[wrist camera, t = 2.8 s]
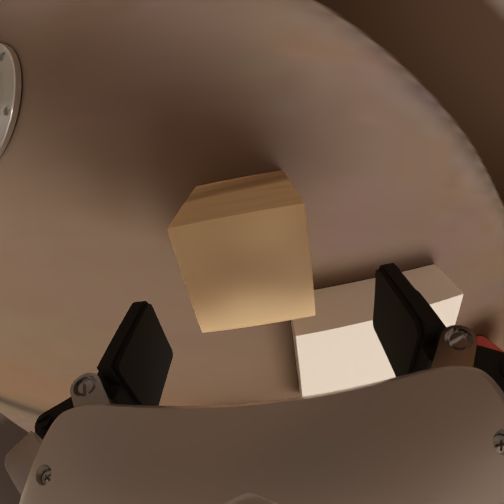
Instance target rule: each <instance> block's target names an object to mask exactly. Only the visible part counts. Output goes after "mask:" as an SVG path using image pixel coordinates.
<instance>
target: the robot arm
mask: <svg viewBox="0 0 504 504" xmlns="http://www.w3.org/2000/svg"><path fill="white" fill-rule="evenodd" d="M21 87H22V86H21V69H20V63H19V60H18V57H17V54H16V53H15V52H14V50H13V49H12V48H11V47H10V46H9V45H7V44H3V43H0V156H1V155H2V153H3V152H4V150H5V148H6V146H7V144H8V142H9V140H10V138H11V135H12V132H13V129H14V127H15V123H16V119H17V115H18V111H19V105H20V98H21ZM373 327H374V330H375V332H376V334H377V336H378V339H379V341H380V343H381V345H382V347H383V349H384V351H385V354H386V356H387V358H388V360H389V362H390V364H391V367H392V369H393V371H394V373H395V376H396V377H394V378H391V379H387V380H383V381H379V382H374V383H370V384H366V385H361V386H357V387H352V388H348V389H343V390H338V391H333V392H327V393H322V394H316V395H310V396H303V397H296V398H289V399H282V400H274V401H264V402H254V403H243V404H228V405H207V406H158V405H159V402H160V398H161V395H162V391H163V388H164V384H165V381H166V377H167V374H168V371H169V367H170V364H171V361H172V357H173V352H172V349H171V347H170V345H169V343H168V340H167V338H166V336H165V334H164V332H163V329H162V327H161V325H160V323H159V321H158V318H157V316H156V314H155V311H154V309H153V307H152V305H151V304H148V303H147V302H146V301H142V302H134V303H133V304H132V305H131V307H130V309H129V310H128V312H127V314H126V316H125V317H124V319H123V321H122V323H121V324H120V326H119V328H118V330H117V331H116V333H115V335H114V337H113V339H112V340H111V342H110V344H109V346H108V348H107V350H106V352H105V353H104V355H103V357H102V359H101V361H100V363H99V365H98V367H97V369H98V370H99V372H98V374H95V373H86V374H83V375H81V376H79V377H78V378H77V379H76V380H75V381H74V382H73V384H72V385H71V388H70V394H71V397H70V398H68V399H67V400H65V401H63V402H62V403H60V404H58V405H57V406H55V407H53V408H51V409H50V410H48V411H46V412H44V413H43V414H42V415H40V416H39V418H38V419H37V421H36V423H35V433H34V432H32V431H31V432H30V433H29V434H28V435H27V436H26V437H25V438H23V439H22V440H21V441H20V442H19V443H18V444H17V445H16V446H15V447H14V448H13V449H12V450H11V451H10V452H9V453H8V454H7V456H6V459H5V466H6V469H7V471H8V473H9V475H10V477H11V479H12V480H13V482H14V484H15V486H16V488H17V489H18V491H19V492H20V494H21V500H20V503H19V504H504V352H501V351H497V350H494V349H490V348H487V347H483V346H480V345H477V338H476V335H475V334H474V332H473V331H472V330H470V329H469V328H467V327H465V326H462V325H451V326H449V327H446V326H445V325H444V323H443V322H442V321H441V319H440V318H439V317H438V315H437V314H436V313H435V311H434V310H433V309H432V307H431V306H430V305H429V304H428V302H427V301H426V300H425V298H424V297H423V296H422V295H421V293H420V292H419V291H418V290H416V289H415V288H414V287H413V286H412V284H411V283H410V282H409V281H408V279H407V278H406V277H405V276H404V274H403V273H402V272H401V271H400V270H399V268H398V267H397V266H396V265H395V264H394V263H390V264H385V265H381V266H380V267H379V269H377V270H376V274H375V296H374V311H373Z"/></svg>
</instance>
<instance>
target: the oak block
mask: <svg viewBox="0 0 504 504" xmlns="http://www.w3.org/2000/svg"><path fill="white" fill-rule="evenodd" d="M167 231H168V235H169V238H170V241H171V244H172V248H173V251H174V254H175V257H176V260H177V263H178V266H179V269H180V272H181V275H182V278H183V281H184V284H185V287H186V289H187V292H188V295H189V298H190V301H191V304H192V306H193V309H194V312H195V315H196V317H197V320H198V323H199V325H200V328H201V330H202V333H204V332H213V331H221V330H228V329H236V328H243V327H250V326H256V325H263V324H269V323H275V322H281V321H287V320H293V319H299V318H304V317H310V316H315V301H314V288H313V276H312V265H311V255H310V245H309V236H308V227H307V218H306V210H305V203H304V201H303V200H302V198H301V197H300V195H299V194H298V192H297V191H296V189H295V188H294V186H293V185H292V184H291V182H290V181H289V179H288V178H287V176H286V175H285V173H284V172H283V171H282V170H280V171H274V172H268V173H262V174H256V175H250V176H245V177H240V178H234V179H229V180H224V181H219V182H214V183H209V184H205V185H200V186H196V187H195V188H194V190H193V191H192V192H191V194H190V195H189V197H188V198H187V200H186V201H185V202H184V204H183V205H182V207H181V208H180V210H179V211H178V213H177V214H176V215H175V217H174V218H173V220H172V221H171V223H170V224H169V226H168V227H167Z"/></svg>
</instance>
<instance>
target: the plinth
mask: <svg viewBox="0 0 504 504" xmlns="http://www.w3.org/2000/svg"><path fill="white" fill-rule="evenodd" d="M402 273H403V274H404V276H405V277H406V278H407V279H408V281H409V282H410V283H411V284H412V286H413V287H414V288H415V289H416V290H418V291H419V292H420V293H421V295H422V296H423V297H424V298H425V300H426V301H427V302H428V304H429V305H430V306H431V307H432V309H433V310H434V311H435V313H436V314H437V315H438V317H439V318H440V319H441V321H442V322H443V323H444V325H445V326H446V327H449V326H451V325H455V323H456V319H457V316H458V312H459V309H460V305H461V301H462V298H463V293H462V292H461V291H460V290H459V289H458V288H457V286H456V285H455V284H454V283H453V282H452V281H451V280H450V279H449V278H448V277H447V276H446V275H445V274H444V273H443V272H442V271H441V270H440V269H439V268H438V267H437V266H436V265H435V264H433V265H429V266H424V267H420V268H416V269H412V270H408V271H403V272H402ZM374 296H375V278H372V279H367V280H362V281H357V282H353V283H348V284H343V285H338V286H332V287H327V288H322V289H317V290H314V301H315V316H310V317H304V318H299V319H293V320H291V327H292V334H293V342H294V350H295V358H296V366H297V374H298V382H299V391H300V397H303V396H310V395H316V394H322V393H327V392H333V391H338V390H343V389H348V388H352V387H357V386H361V385H366V384H370V383H374V382H379V381H383V380H387V379H391V378H394V377H396V376H395V373H394V371H393V369H392V367H391V364H390V362H389V360H388V358H387V356H386V354H385V351H384V349H383V347H382V345H381V343H380V341H379V339H378V336H377V334H376V332H375V330H374V327H373V311H374Z"/></svg>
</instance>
